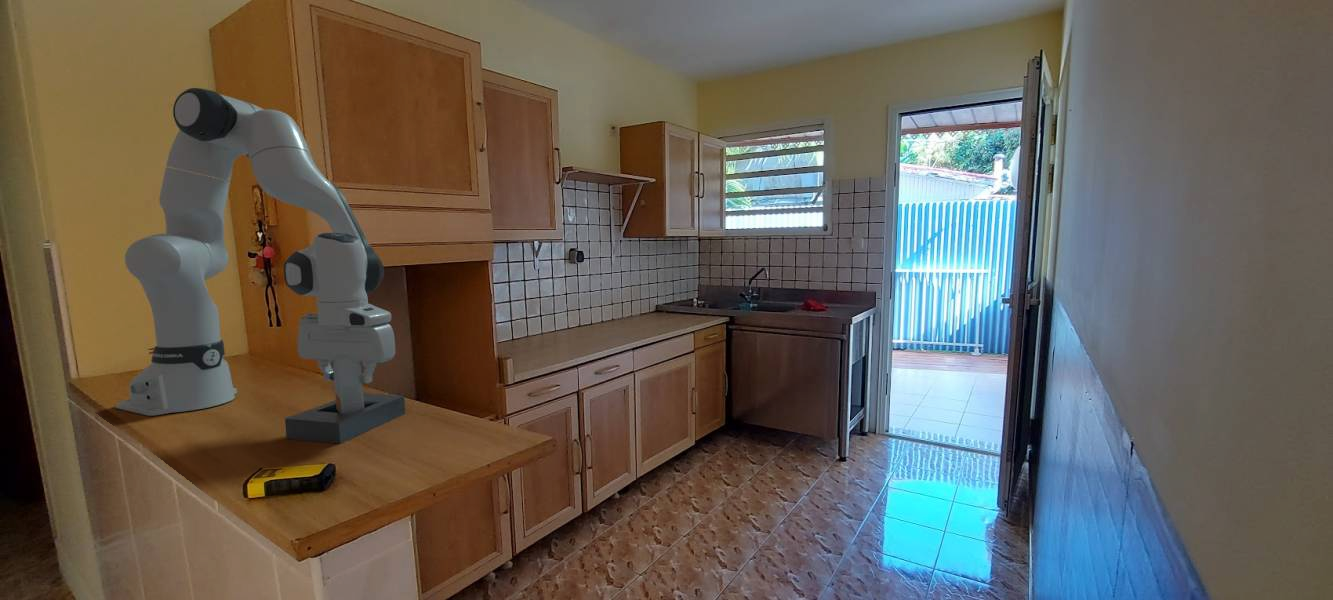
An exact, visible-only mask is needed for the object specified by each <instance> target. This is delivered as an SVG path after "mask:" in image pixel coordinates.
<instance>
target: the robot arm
mask: <svg viewBox="0 0 1333 600" xmlns="http://www.w3.org/2000/svg"><path fill="white" fill-rule="evenodd" d="M173 103H174V104H173V108H172V116H173V119H174V122H175V124H176V126H177V128H178V132H177V134H176V135H175V137H174V140H173V143H172V145H171V148H170V150H169V152H168V156H167V160H166V165H165V169H164V175H163V179H162V184H161V188H160V189H161V190H160V193H159V198H158V199H159V205H160V207H161V208H162V210H163V214H164V219H165V230H166V231H165V233H155V234H151V235H148V236H146V237H143V238H140V239H138V240H136V241H134V242H132V244H130V245H129V247H128V248H127V250H126V251H125V256H124V263H125V266H126V268H127V270H128V271H129V273H130V274H131V275H132V276H133V277H135V279H137V281H139V283H140V285H141V287H142V288H143V290H144V291H143V292H144V294H145V295H146V297H147V300H148V303H149V305H150V308H151V312H152V317H153V322H154V323H153V325H154V331H155V343H156V345H155V347H154V348H153V347H152V348H148V349H147V350H148V351H150V352H148V353H147V354H148V355H152V356H151V363H150V364H149V365H148V366H147V367H145V369H143V370H142V371H141V372H140V373H138V374H137V375H136V376H134V377H133V378H132V379H131V381H130V383H129V398H128V399H124V400H121V401H119V402H117V403H116V404H115V408H116V409H119V410H123V411H127V412H132V413H136V414H140V415H145V416H149V417H152V416H153V417H154V416H160V415H165V414H171V413H181V412H189V411H197V410H201V409H207V408H211V407H216V406H219V405H222V404H225V403H228V402H230V401H232V400H234V399H235V398H236V396H235V395H236V394H237V393H238V390H237V389H238V388H236V387H234V386H233V382H232V376H231V371H230V367H229V363H228V362H227V360H225V359H224V357H223V356H225V355H226V354H225V352H226V351H225V349H226V348H225V344H224V340H223V339H222V338H221V325H220V315H219V308H218V306H217V304H216V303H215V302H214V301H213V300H212V298H211V296H210V294H209V293H210V292H209V290H208V288H207V286H206V283H205V281H206V280H209V279H211V278H214V277H216V276H217V275H219V274H220V273H221V272H223V271H224V270H225V269H226V267H227V266H228V264H229V259H230V256H229V252H228V250H227V248H226V245H225V241H226V239H225V222H224V221H225V220H224V219H225V210H226V205H227V200H228V195H229V190H230V186H231V185H230V184H231V182H232V181H231V180H232V174H233V166H234V164H235V161H237V159H238V158H239V157H242V156H244V155H246V157H247V158H248V159H249V163H250V165H251V166H250V167H251V169H252V172H253V175H254V178H255V180H256V181H257V184H258V185H259V187H260V188H261V189H262V190H263V191H264V192H265V193H266V194H267V195H269V196H271V197H272V198H273V199H276V200H278V201H279V202H282V203H285V204H288V205H292V206H295V207H297V208H298V207H299V208H302V209H304V210H307V211H309V212H312V213H313V214H316V215H318V216H319V217H321V218H322V219H323V220H325V222H327V224H328V226H329V227H330V230H331V231H332V232H323V233H319V234H317V235H316V236H315V237H314V239H313V243H312V244H311V245H309V246H307V247H306V248H304V249H301V250H298V251H294V252H293V253H292V254H290V255H289V257H288V258H287V259H286V260H285V262H284V263H283V276H284V281H285V284H286V286H287V287H288V288H289V289H290V290H291V291H292V292H294V293H295V294H297V295H298V296H302V297H304V296H305V297H316V309H317V312H316V313H311V312H307V313H305V314H304V315H303V316H302V317H301V318H299V328H298V333H297V334H298V335H297V336H298V337H297V353H298V355H299V357H300V358H301V359H303V360H316V362H317V366H318V368H319V369H320V371H321V373H322V374H323V380H324V382H334V374H333V366H331V363H332V360H334V356H346V357H350V359H351V361H359V362H360V363H362V367H363V368H364V371H363V373H361V374H360V375H359V377H360V383H362V384H369V383H372V382H373V373H374V371H375V369H376V367H377V365H378V364H377V363H380V364H381V363H386V362H388V361H391V360H393V359H394V357H395V355H396V340H395V334H394V330H393V327H392V325H391V324H389V322H391V321H392V314H391V312H390V311H388V310H386V309H383V308H380V307H378V306H375V305H373V304H371V303H369V301H368V299H369V298H368V297H369V296H368V295H369V294H371V293H373V292H374V291H375V290H376V289H377V288H379V286H380V284H381V283H382V282H383V279H384V277H385V269H384V264H383V261H382V260H381V258H380V257H379V255H378V254H377V253H376V251H375V250H374V249H373V247H372V246H371V244H370V243H369V241H368V240H367V237H366V235H365V233H364V232H363V230H362V228H361V225H359V224H360V223H359V222H358V220H357V219H356V217H355V215H354V213H353V210H352V208H351V207H350V205H349V203H348V201H347V199H346V198H345V195H344V194H343V193H342V191H341V190H340V188H339V187H338V186H336V184H333V182H330V180H328V179H327V178H326V176H324V175H323V173H322V172H321V171H320V169H319V168H318V167H317V165H316V163H315V161H314V159H313V156H312V154H311V151H310V148H309V146H308V143H307V141H306V139H305V137H304V135H303V133H302V131H301V129H300V127H299V126H298V124H297V122H296V121H295V120H294V119H293V117H291V116H290V115H288V114H287V113H285V112H283V111H280V110H277V109H270V108H269V109H264V108H262V107H260V106H258V105H255V104H253V103H250V102H248V101H246V100H240V99H238V98H234V97H232V96H228V95H223V94H220V93H218V92H216V91H215V90H211V89H207V88H199V87H191V88H188V89H186V90H184V91H183V92H181V93H180V94H179V95H178V96H177V98H176V99H175V101H174V102H173ZM230 181H231V182H230ZM152 350H153V351H152Z"/></svg>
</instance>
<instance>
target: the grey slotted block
mask: <svg viewBox="0 0 1333 600" xmlns="http://www.w3.org/2000/svg"><path fill="white" fill-rule="evenodd" d="M363 399H364V409H361V410H359V411H356V412H354V413H351V414H346V413H339V411H338V410H337V409H336V399H335V400H332V401H329V402H327V403H324V404H321V405H318V406H316V407H315V406H314V407H313V408H310V409H307V410H304V411H302V412H299V413H296V414H294V415H291V416H289V417H284V424H285V436H286V437H285V438H286V439H288V440H296V441H305V442H306V441H310V442H317V443H329V444H338V445H339V444H343V443H345V442H347V441H349V440H351V439H354V438H356V437H358V436H361V435H362V434H364V433H367V432H369V431H371V430H373V429H375V428H378V427H379V426H381V425H384V424H385V423H388V422H391V421H392V420H395V419H396V418H397V419H398V418H399V417H401V416H403V415H405V414H406V407H405V406H406V405H405V395H398V394H386V393H385V394H384V393H371V392H369V393H367V392H363Z"/></svg>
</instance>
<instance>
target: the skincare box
mask: <svg viewBox="0 0 1333 600" xmlns="http://www.w3.org/2000/svg"><path fill="white" fill-rule="evenodd" d="M331 361H332V362H331V363H332V369H333V374H334V380H333V384H334V395H335V400H336V409H337V410H338V411H339V413H346V414H351V413H354V412H356V411H359V410H361V409H364V399H363V393H364V390H363V389H364V388H363V383H360V377H359V375H360V374H362V362H359V361H351V359H350V357H346V356H334V360H331Z"/></svg>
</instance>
